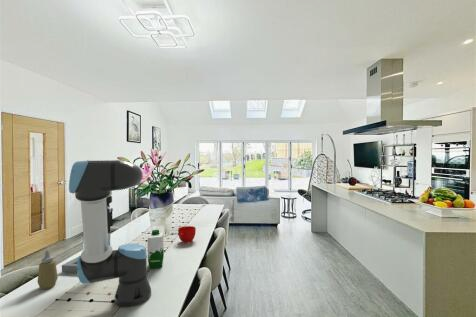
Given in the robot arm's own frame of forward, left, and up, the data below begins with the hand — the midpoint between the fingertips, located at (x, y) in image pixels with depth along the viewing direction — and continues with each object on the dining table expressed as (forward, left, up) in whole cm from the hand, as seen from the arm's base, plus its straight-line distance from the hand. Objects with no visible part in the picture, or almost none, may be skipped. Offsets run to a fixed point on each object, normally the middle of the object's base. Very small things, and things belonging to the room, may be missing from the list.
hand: (105, 238), depth 139 cm
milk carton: (+11, -24, -19) cm, 33 cm away
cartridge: (0, 0, -6) cm, 6 cm away
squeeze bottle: (-17, +19, -19) cm, 32 cm away
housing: (+10, +17, -19) cm, 27 cm away
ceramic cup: (+52, -28, -19) cm, 62 cm away
